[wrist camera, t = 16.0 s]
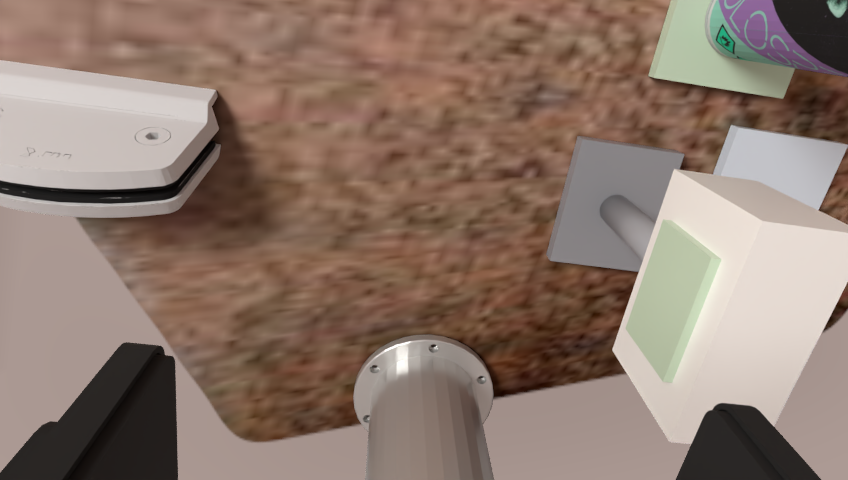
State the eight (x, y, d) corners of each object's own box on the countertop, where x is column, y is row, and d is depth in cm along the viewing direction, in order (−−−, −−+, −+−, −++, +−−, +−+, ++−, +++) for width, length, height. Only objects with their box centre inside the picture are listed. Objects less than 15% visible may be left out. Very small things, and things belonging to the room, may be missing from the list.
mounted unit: (634, 276, 46) (788, 453, 28) (543, 265, 46) (641, 439, 27) (681, 137, 42) (902, 240, 24) (581, 122, 41) (729, 216, 23)
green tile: (774, 96, 41) (783, 98, 40) (648, 76, 40) (653, 77, 39) (833, -53, 37) (843, -54, 36) (695, -79, 36) (702, -82, 35)
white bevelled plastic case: (222, 90, 39) (173, 173, 32) (228, 146, 42) (185, 233, 35) (-28, 56, 38) (-140, 134, 30) (-2, 116, 41) (-97, 200, 33)
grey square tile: (791, 246, 46) (799, 251, 45) (691, 233, 45) (697, 238, 44) (838, 141, 43) (848, 144, 42) (731, 125, 42) (738, 127, 41)
